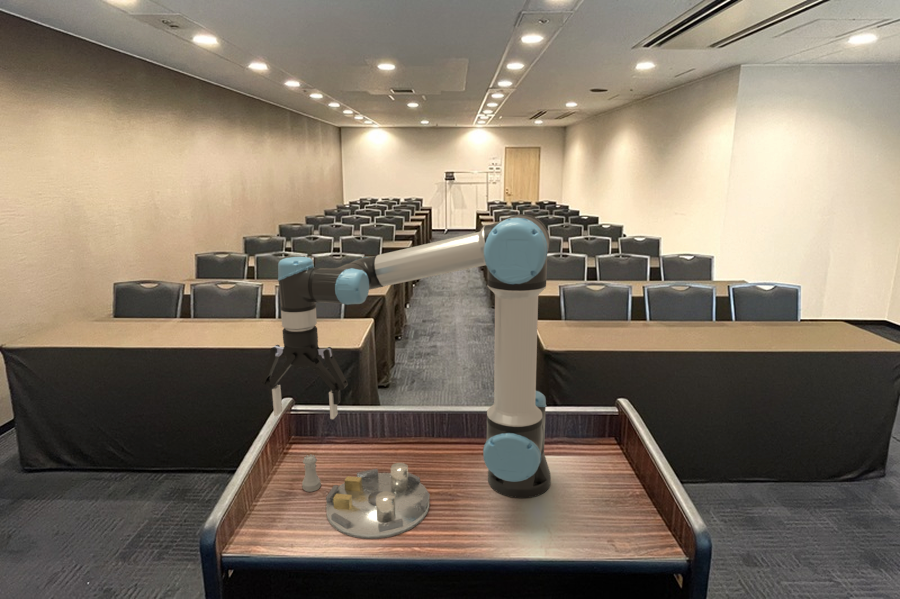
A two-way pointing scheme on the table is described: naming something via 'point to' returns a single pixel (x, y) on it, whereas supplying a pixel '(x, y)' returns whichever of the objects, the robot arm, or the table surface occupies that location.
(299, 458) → the table surface
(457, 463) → the table surface
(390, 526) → the carrier plate
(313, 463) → the rook chess piece
